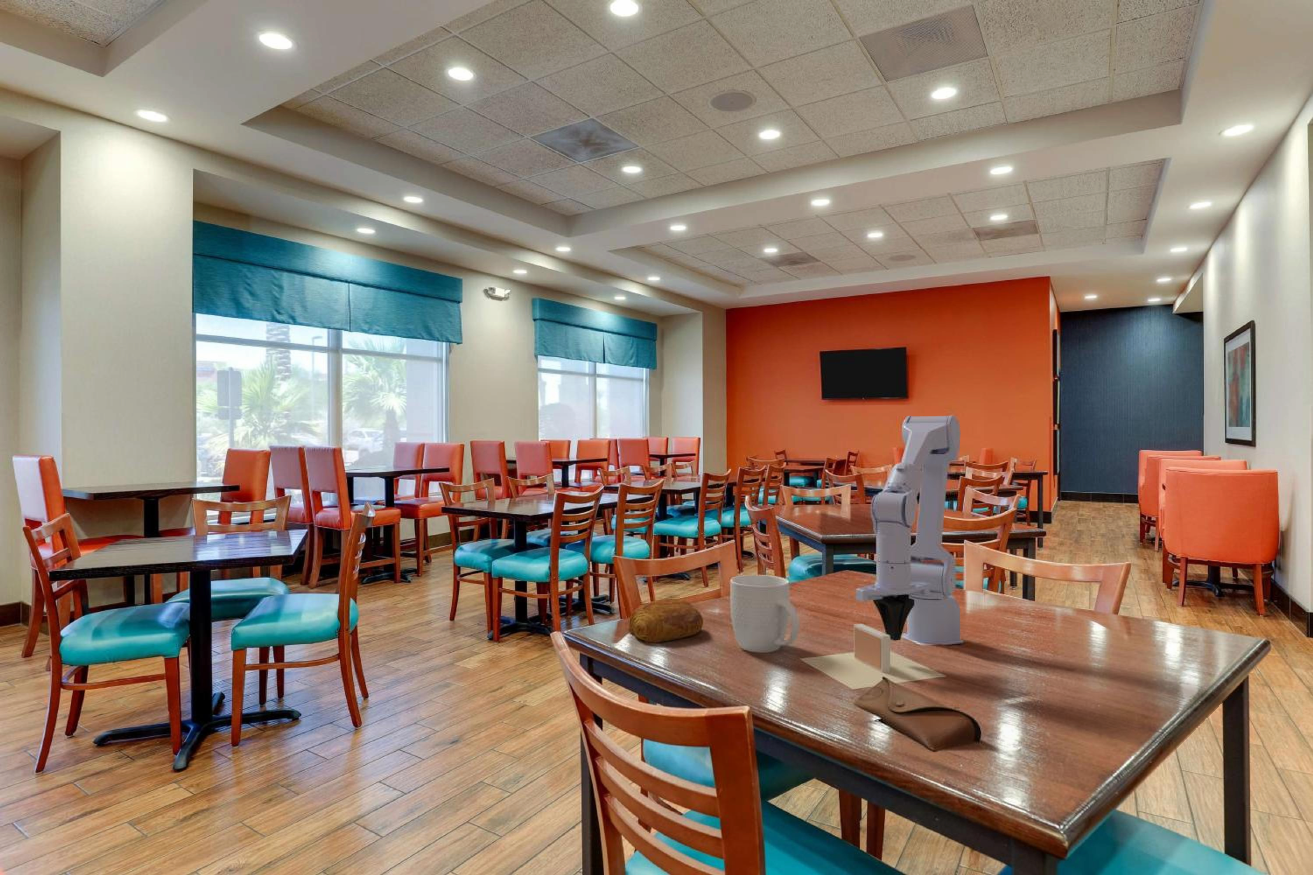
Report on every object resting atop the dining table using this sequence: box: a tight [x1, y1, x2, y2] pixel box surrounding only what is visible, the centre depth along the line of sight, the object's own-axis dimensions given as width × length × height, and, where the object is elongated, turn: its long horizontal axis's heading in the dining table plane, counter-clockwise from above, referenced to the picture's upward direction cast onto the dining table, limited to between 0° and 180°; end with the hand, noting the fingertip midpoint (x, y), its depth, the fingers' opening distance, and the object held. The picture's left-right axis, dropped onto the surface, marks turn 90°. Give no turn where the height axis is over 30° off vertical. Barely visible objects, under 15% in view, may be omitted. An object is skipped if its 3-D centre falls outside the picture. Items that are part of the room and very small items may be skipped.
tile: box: [853, 623, 891, 672], centre depth 122 cm, size 2×8×6 cm, turn 19°
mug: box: [729, 574, 800, 654], centre depth 132 cm, size 15×11×13 cm
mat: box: [799, 650, 947, 690], centre depth 121 cm, size 18×16×1 cm
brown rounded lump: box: [628, 598, 704, 644], centre depth 145 cm, size 14×16×8 cm
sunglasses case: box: [852, 677, 982, 753], centre depth 100 cm, size 18×7×7 cm
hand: (893, 638), depth 124 cm, fingers closed
